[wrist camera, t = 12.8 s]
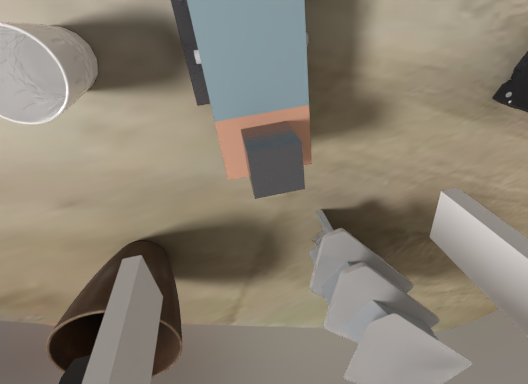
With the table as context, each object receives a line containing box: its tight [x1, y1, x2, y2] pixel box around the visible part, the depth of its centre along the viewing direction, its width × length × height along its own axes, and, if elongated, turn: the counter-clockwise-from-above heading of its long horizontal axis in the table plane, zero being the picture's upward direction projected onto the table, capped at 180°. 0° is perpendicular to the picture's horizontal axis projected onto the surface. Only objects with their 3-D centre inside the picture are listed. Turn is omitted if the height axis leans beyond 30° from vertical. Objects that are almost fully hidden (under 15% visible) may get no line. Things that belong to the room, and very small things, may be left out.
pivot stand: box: [171, 0, 210, 105], centre depth 31 cm, size 12×14×6 cm
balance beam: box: [187, 0, 312, 180], centre depth 28 cm, size 26×11×2 cm, turn 7°
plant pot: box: [46, 241, 182, 378], centre depth 41 cm, size 15×15×16 cm
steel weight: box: [241, 121, 305, 199], centre depth 30 cm, size 5×5×6 cm
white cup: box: [0, 22, 98, 124], centre depth 28 cm, size 8×8×10 cm
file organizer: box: [309, 209, 472, 384], centre depth 45 cm, size 26×35×22 cm
